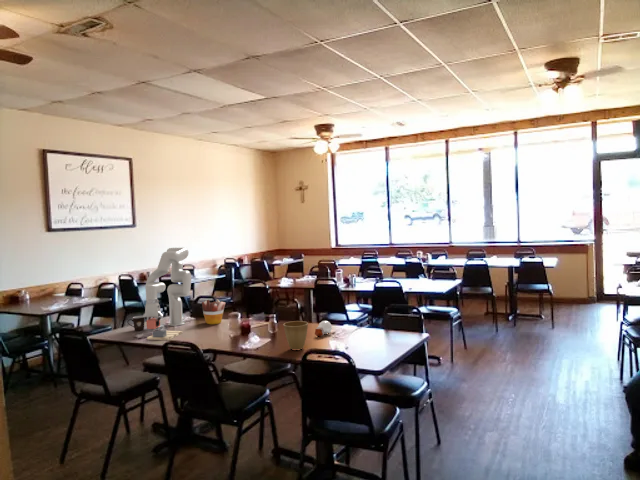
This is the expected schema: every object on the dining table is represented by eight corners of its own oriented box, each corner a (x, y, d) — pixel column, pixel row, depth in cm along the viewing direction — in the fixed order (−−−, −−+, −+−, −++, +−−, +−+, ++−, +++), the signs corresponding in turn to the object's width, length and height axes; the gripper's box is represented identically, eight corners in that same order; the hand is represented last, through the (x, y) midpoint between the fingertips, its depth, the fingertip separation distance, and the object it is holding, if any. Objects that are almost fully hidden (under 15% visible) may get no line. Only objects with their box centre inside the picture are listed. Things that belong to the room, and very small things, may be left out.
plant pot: (289, 345, 312) (288, 320, 312) (311, 346, 308) (311, 321, 307) (280, 352, 298) (279, 325, 297) (304, 353, 294) (303, 326, 293)
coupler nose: (156, 335, 344) (155, 330, 344) (166, 335, 343) (166, 330, 343) (152, 337, 341) (152, 331, 340) (163, 337, 339) (163, 331, 339)
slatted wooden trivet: (162, 332, 360) (162, 330, 360) (182, 333, 357) (182, 331, 357) (146, 339, 341) (146, 337, 340) (168, 340, 337) (168, 337, 337)
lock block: (152, 325, 363) (152, 317, 362) (160, 326, 361) (159, 318, 361) (146, 328, 355) (146, 320, 354) (154, 329, 354) (154, 320, 353)
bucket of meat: (210, 320, 401) (209, 295, 400) (228, 320, 396) (227, 296, 396) (197, 325, 381) (196, 299, 381) (217, 326, 377) (216, 300, 376)
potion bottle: (330, 334, 345) (321, 342, 332) (319, 326, 348) (309, 333, 335) (336, 324, 342) (327, 332, 328) (325, 316, 344) (316, 323, 331)
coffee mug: (147, 328, 375) (146, 315, 374) (142, 331, 366) (141, 318, 366) (132, 329, 376) (132, 315, 376) (127, 331, 367) (126, 318, 367)
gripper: (165, 300, 358) (167, 324, 360) (144, 300, 362) (145, 324, 364) (160, 302, 351) (161, 327, 353) (138, 302, 355) (139, 327, 356)
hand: (153, 325), depth 358 cm, fingers closed on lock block, 6 cm apart
